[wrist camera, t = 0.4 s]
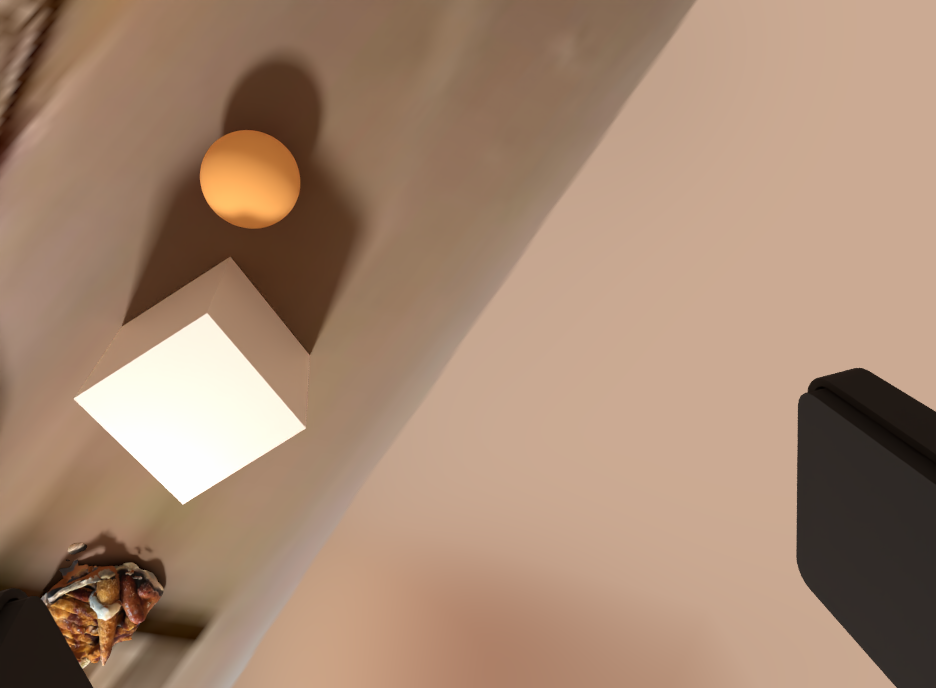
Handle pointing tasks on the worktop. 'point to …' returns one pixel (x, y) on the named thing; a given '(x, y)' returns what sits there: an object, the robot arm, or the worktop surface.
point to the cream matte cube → (201, 382)
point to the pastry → (100, 605)
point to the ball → (250, 179)
